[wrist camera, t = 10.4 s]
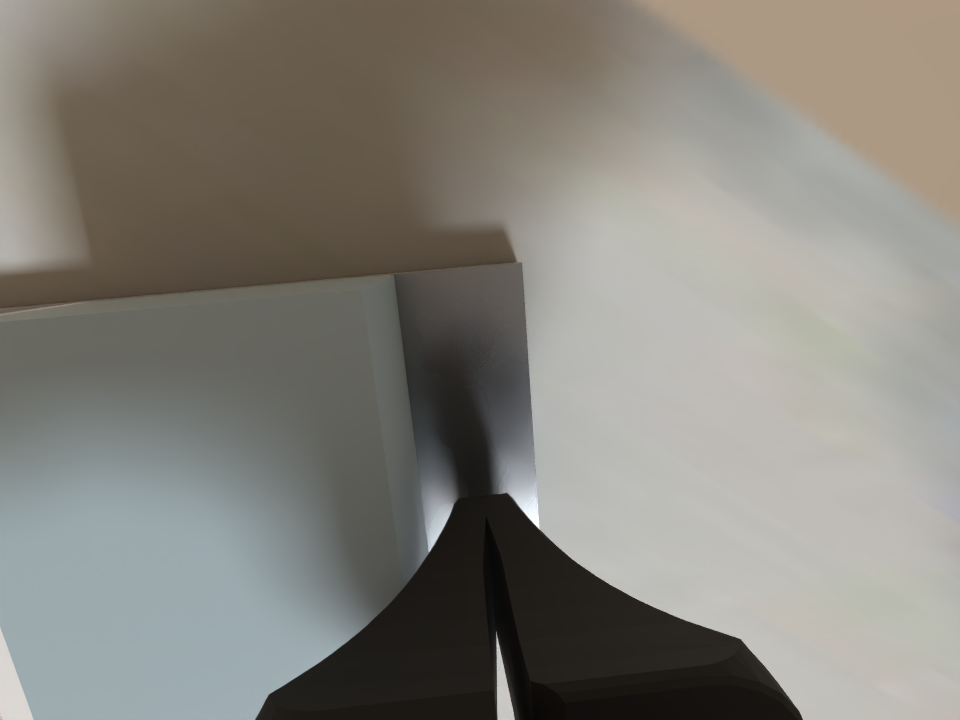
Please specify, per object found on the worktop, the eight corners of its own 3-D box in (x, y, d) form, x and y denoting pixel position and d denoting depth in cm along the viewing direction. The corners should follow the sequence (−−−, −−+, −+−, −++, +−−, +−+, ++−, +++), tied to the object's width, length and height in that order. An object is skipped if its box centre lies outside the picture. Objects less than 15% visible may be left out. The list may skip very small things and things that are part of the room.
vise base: (537, 554, 14) (581, 713, 9) (-271, 642, 13) (-679, 864, 8) (517, 261, 12) (559, 271, 7) (-424, 345, 11) (-1053, 416, 7)
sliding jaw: (432, 585, 13) (423, 734, 9) (158, 616, 13) (25, 782, 9) (394, 274, 11) (361, 289, 7) (72, 303, 11) (-145, 334, 7)
